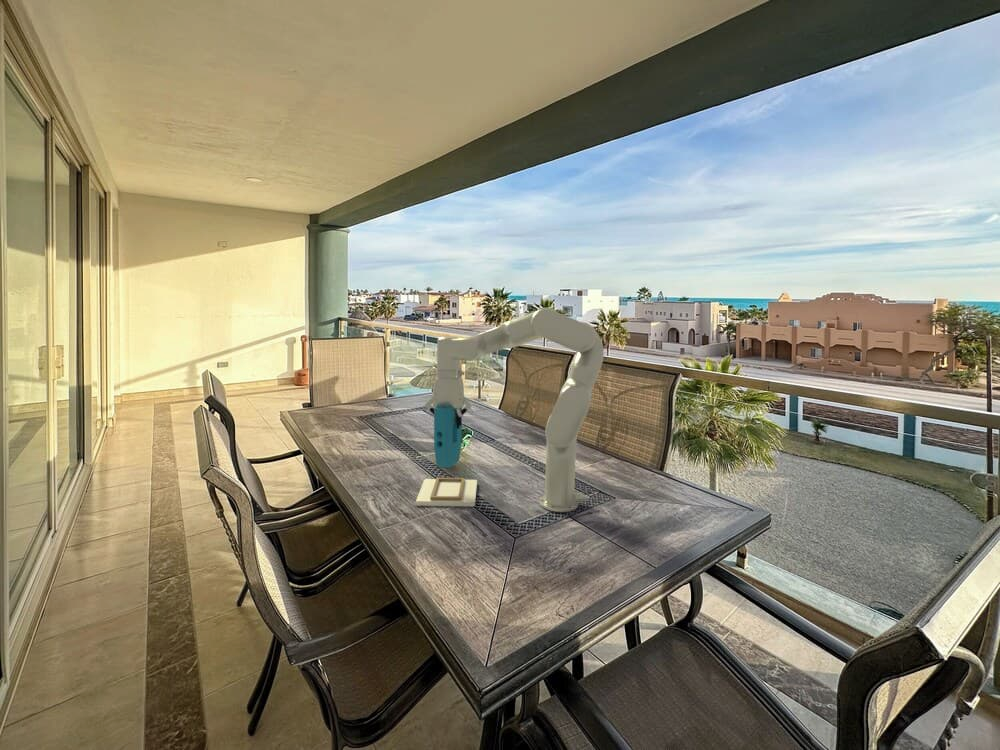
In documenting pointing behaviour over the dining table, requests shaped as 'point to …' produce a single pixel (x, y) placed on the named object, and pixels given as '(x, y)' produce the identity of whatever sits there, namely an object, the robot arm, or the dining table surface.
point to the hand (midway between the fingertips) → (448, 426)
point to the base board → (447, 492)
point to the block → (446, 436)
